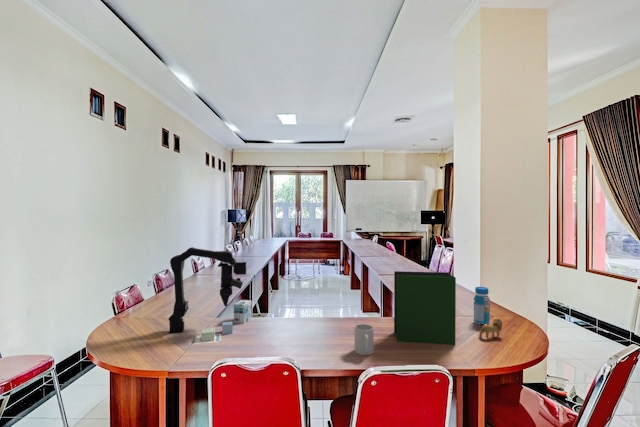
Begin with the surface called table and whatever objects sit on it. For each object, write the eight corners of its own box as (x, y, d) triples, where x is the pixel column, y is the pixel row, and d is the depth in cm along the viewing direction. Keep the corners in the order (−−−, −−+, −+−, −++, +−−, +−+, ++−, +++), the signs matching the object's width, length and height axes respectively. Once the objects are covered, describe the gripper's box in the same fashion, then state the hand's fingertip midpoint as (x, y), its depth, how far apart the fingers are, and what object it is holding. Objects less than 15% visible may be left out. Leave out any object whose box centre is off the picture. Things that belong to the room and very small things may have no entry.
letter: (193, 344, 159) (193, 343, 159) (196, 336, 169) (196, 335, 169) (220, 342, 162) (220, 341, 162) (221, 334, 172) (221, 333, 172)
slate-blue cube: (222, 335, 171) (222, 325, 171) (222, 331, 176) (222, 322, 176) (232, 334, 173) (232, 324, 173) (232, 330, 177) (232, 321, 177)
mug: (353, 347, 156) (353, 324, 156) (371, 347, 156) (371, 323, 156) (357, 359, 144) (357, 333, 144) (376, 358, 144) (377, 333, 144)
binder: (396, 342, 162) (396, 276, 162) (393, 331, 177) (394, 270, 177) (455, 345, 159) (455, 277, 159) (447, 334, 174) (447, 272, 173)
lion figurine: (495, 333, 174) (495, 316, 174) (505, 337, 170) (505, 319, 170) (475, 338, 168) (476, 320, 168) (485, 342, 163) (485, 323, 163)
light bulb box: (244, 324, 188) (244, 304, 188) (233, 323, 189) (233, 304, 189) (252, 318, 198) (252, 300, 198) (241, 317, 200) (241, 299, 200)
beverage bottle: (473, 324, 189) (474, 288, 189) (473, 319, 197) (473, 285, 197) (490, 326, 186) (490, 290, 186) (489, 321, 194) (489, 286, 194)
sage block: (201, 341, 162) (201, 333, 162) (202, 336, 168) (202, 328, 168) (214, 340, 163) (214, 332, 163) (214, 335, 169) (214, 327, 169)
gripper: (242, 277, 173) (241, 308, 173) (241, 271, 191) (241, 298, 191) (220, 278, 170) (219, 309, 170) (221, 271, 188) (220, 299, 188)
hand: (226, 303), depth 180 cm, fingers open, 9 cm apart
